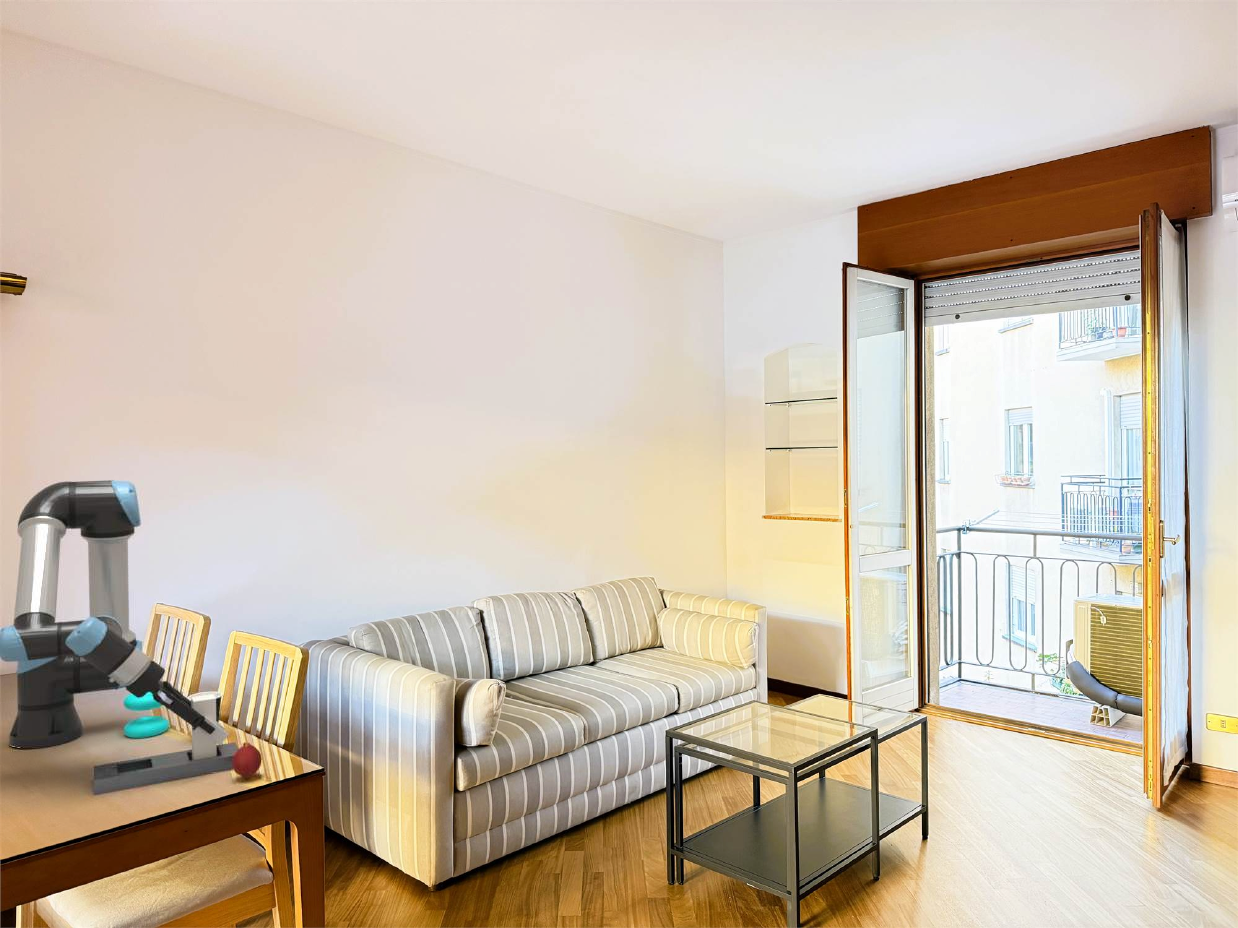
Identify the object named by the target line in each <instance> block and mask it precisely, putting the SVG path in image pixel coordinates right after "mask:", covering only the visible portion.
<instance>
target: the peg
mask: <svg viewBox="0 0 1238 928" xmlns="http://www.w3.org/2000/svg"><path fill="white" fill-rule="evenodd" d="M191 707H192V708H193V709H194V710H196V711H197V712H198V713H199V714H201V715H202V716H204V717H207V718H208V719H209V720H211V721H212V722H213V723H215V724H216V698H215V696H214V694H210V695H203V696H196V697H191ZM192 728H193V727H192V726H191V750H192V760H198V759H204V758H209V757H215V756H217V752H216V745H217V743H216V742H215V741H214V740H212V739H211V738H210V737H208V736H207V735H206V734H204V733H203V732H201V731H200V730H199V729H197V728H196V729H195V730H192Z"/></svg>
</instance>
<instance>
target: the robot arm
mask: <svg viewBox="0 0 1238 928" xmlns="http://www.w3.org/2000/svg"><path fill="white" fill-rule="evenodd" d="M17 521H18V522H17V534H18V536H19V538H21V542H20V543H21V546H20V555H19V563H18V564H19V565H18V572H17V573H18V575H17V583H16V584H17V585H16V592H15V593H16V596H15V605H14V616H13V625H9V626H4V627H2V628H1V630H0V660H2V661H3V662H5V663H7V662H10V663H11V662H14V663H15V662H17V666H16V672H15V673H16V675H17V676H16V678H17V714H16V716H15V718H14V721H13V724H12V727H11V731H10V732H9V737H8V741H9V742H8V745H9V744H10V745H11V746H15V747H20V748H32V749H40V748H46V747H53V746H58V745H61V744H65V743H69V742H71V741H74V740H77V739H78V738H79V737H81V736H82V735H83V724H82V720H81V719H80V716H79V714H78V711H77V709H76V706H75V695H77V694H84V693H94V692H100V691H110V690H111V691H112V690H116V691H117V690H119V689H123V688H125V690H126V691H127V692H129V693H130V694H133V695H134V696H136V697H137V698H141V697H143V696H144V695H146V693H148V692H151V693H152V694H153V695H152V696H153V697H154V698H153V699H154V700H155V701H157V702H158V703H160V704H161V705H163V707H165V708H167V710H170V712H173V713H174V714H175V715H176V716H178V717H180V718H181V719H182V720H183V721H184V722H186V723H188V724H189V725H190V726H191V725H192V726H191V731H192V730H195V729H196V728H197V729H199V730H200V731H201V732H203V733H204V734H206V735H207V736H208V737H210V738H211V739H212V740H214V741H215V742H216V744H217V745H221V744H223V742H224V741H225V740H226V739H227V737H228V736H229V735H230V734H229V733H228V732H227V731H226V729H227V728H226V727H225V726H223V725H222V723H220V722H219V723H218V722H217V721H216V724H215V723H213V722H212V721H211V720H209V719H208V718H207V717H204V716H202V715H201V714H199V713H198V712H197V711H196V710H194V709H193V708H192V707H191V701H190V700H189V699H187V697H186V696H184V695H183V694H182V693H181V692H180V691H179V690H178V689H177V688H175V687H174V686H173V685H172V684H171V683H170V682H168V681H167V680H166V681H165V680H163V681H162V678H163V677H164V675H165V673H166V670H165V668H164V667H162V666H161V665H160V664H159V663H157V662H155V661H154V660H150V659H151V658H150V656H148V655H147V654H146V653H144V651H143V641H141V640H140V639H137V635H136V633H135V632H133V631H132V630H130V613H129V612H130V609H129V608H130V607H129V606H130V604H129V603H130V602H129V601H130V600H129V597H130V595H129V594H130V593H129V539H130V538H132V536H134V535H135V533H136V531H135V528H137V527H140V526H141V525H142V521H141V514H140V507H139V501H138V495H137V490H136V487H135V485H134V483H133V482H131V481H129V480H128V481H127V480H115V479H114V480H113V479H111V480H86V481H85V480H84V481H82V480H80V481H61V482H55V483H53V484H50V485H48V486H45V487H44V488H43V489H42V490H40V491H38V492H37V493H36V494H35V495H34V496H33V497H32V498H31V499H29V500H28V502H27V503H26V505H24V508H23V509H22V511H21V513H20V515H19V518H18V520H17ZM68 529H69V530H70V529H71V530H73V529H74V530H76V529H77V530H80V537H81V538H82V539H84V541H86V542H87V551H88V553H87V557H88V561H87V562H88V595H89V596H88V599H89V608H88V609H89V617H88V618H86V619H82V620H70V621H57V622H56V616H57V600H58V589H59V588H58V587H59V585H58V584H59V583H58V582H59V568H60V557H61V555H60V554H61V539H62V538H64V537H65V536H66V534H67V530H68ZM192 727H193V728H192Z"/></svg>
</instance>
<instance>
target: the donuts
mask: <svg viewBox="0 0 1238 928" xmlns="http://www.w3.org/2000/svg"><path fill="white" fill-rule="evenodd" d="M152 695H153V694H152V693H151V692H148V693H146V695H144V696H143V697H141V698H137V697H136V696H134V695H133V694H131V693H130V694H128V695H127V696H126V697H125V698H124V699H123V706H124V707H125V708H126V709H128V710H129V711H135V712H144V711H145V712H146V711H151V710H155V709H158V708H161V707H164V705H161V704H160V703H158V702H157V701H155V700H154V699H153V698H154V697H153V696H152ZM169 727H170V722H169V719H167V718H165V717H164V716H159V715H147V716H142V717H137V718H135V719H132V720H131V721H129V722H128V723H127V724H126V725H125V726H124V729H123V733H124V734H125V736H127V737H128V738H134V739H142V738H150V736H151V737H155V736H158V735H160V734H163V733H164V732H166V731H167V730H168V728H169Z"/></svg>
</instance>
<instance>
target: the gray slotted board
mask: <svg viewBox="0 0 1238 928" xmlns="http://www.w3.org/2000/svg"><path fill="white" fill-rule="evenodd" d="M238 749H240V747H239V746H238V744H237V743H236V741H234V742H233V741H232V742H227V743H221V744H220V745H219V744H216V752H217V756H215V757H209V758H204V759H198V760H192V749H186V750H181V751H175V752H168V753H163V754H157V755H151V756H145V757H140V758H134V759H128V760H122V761H115V762H110V763H104V764H98V765H93V796H96V795H102V794H106V793H112V792H116V791H117V792H118V791H123V790H130V789H134V788H140V787H145V786H146V787H147V786H151V785H157V784H161V783H167V782H171V781H177V780H183V779H188V777H189V778H194V777H199V776H198V775H200V776H205V775H209V774H214V773H213V772H216V773H221V772H226V771H231V769H232V770H234V769H233V766H232V760H233V757H234V755H235V753H236V752H237V751H238ZM220 771H221V772H220Z"/></svg>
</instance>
